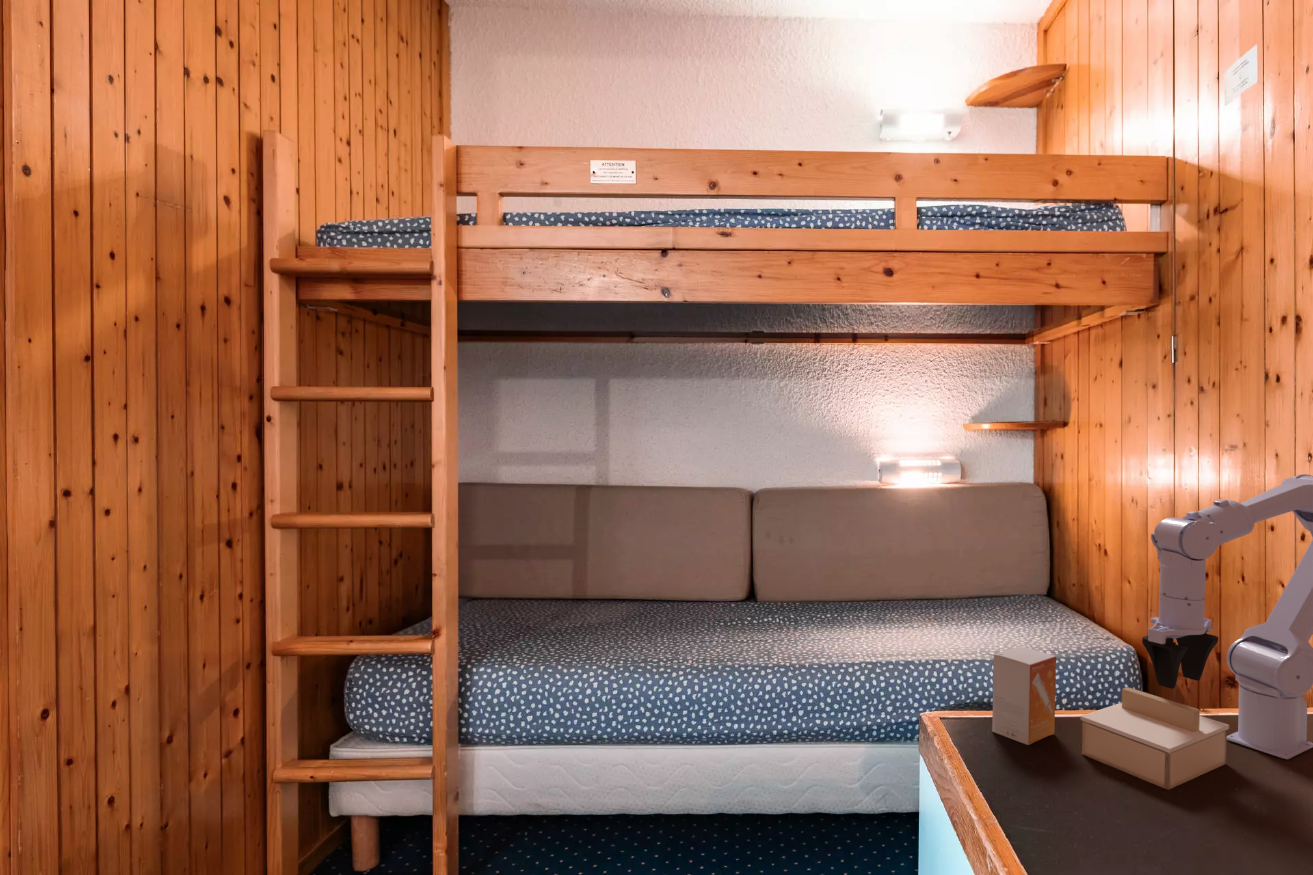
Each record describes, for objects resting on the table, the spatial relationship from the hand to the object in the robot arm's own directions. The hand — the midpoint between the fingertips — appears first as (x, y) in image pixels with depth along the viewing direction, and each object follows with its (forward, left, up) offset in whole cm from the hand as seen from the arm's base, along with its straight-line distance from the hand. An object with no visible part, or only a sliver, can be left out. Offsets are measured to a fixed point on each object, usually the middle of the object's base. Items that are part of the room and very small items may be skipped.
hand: (1179, 682), depth 112 cm
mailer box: (+7, 0, -10) cm, 13 cm away
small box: (+16, -15, -11) cm, 24 cm away
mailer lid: (+7, 0, -5) cm, 9 cm away
